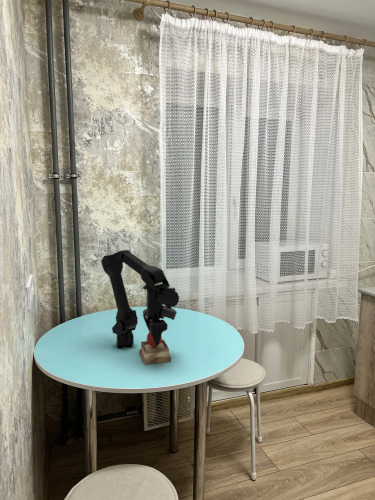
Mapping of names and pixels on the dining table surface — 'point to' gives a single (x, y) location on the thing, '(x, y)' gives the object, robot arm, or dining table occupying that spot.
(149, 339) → the pomegranate
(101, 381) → the dining table surface
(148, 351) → the pedestal
